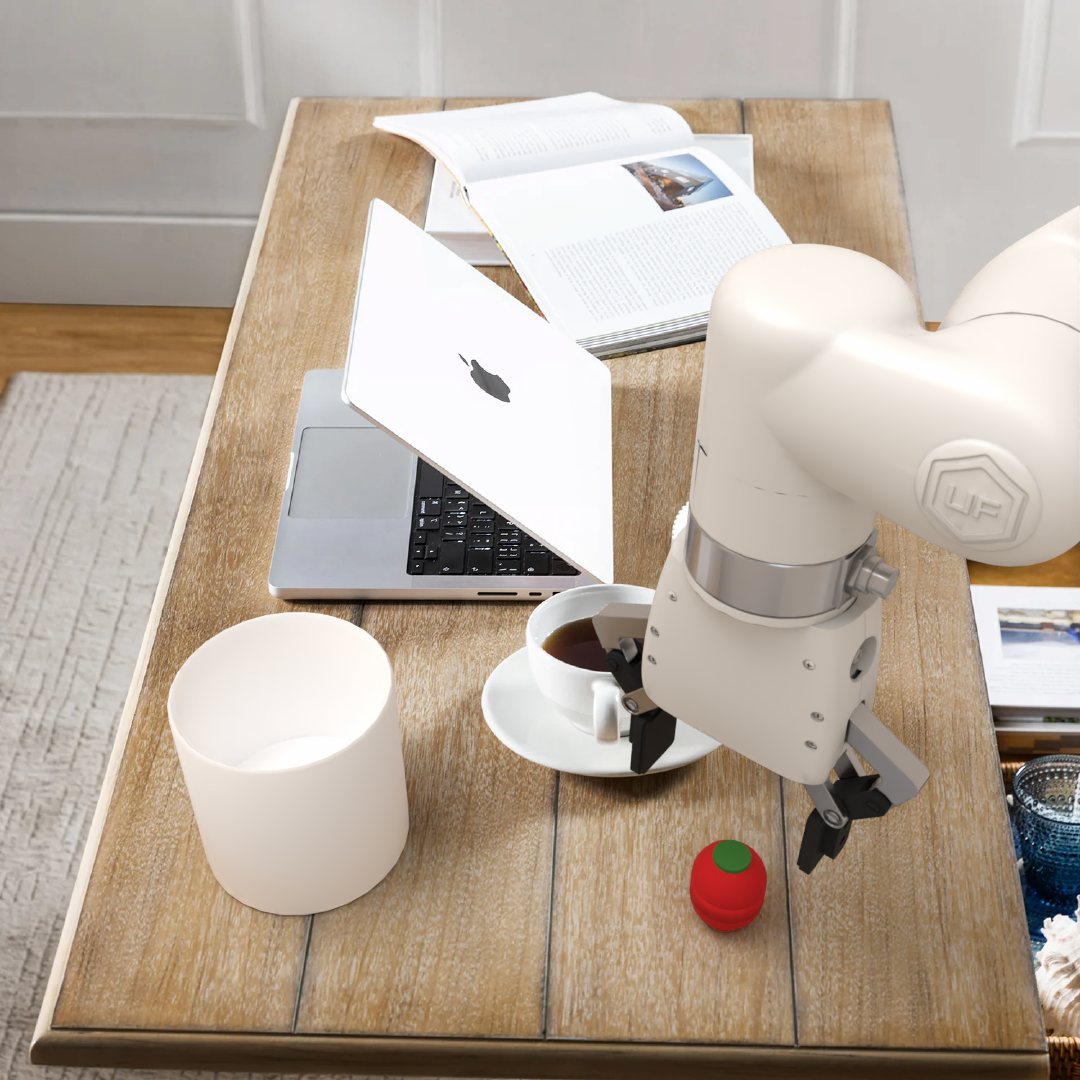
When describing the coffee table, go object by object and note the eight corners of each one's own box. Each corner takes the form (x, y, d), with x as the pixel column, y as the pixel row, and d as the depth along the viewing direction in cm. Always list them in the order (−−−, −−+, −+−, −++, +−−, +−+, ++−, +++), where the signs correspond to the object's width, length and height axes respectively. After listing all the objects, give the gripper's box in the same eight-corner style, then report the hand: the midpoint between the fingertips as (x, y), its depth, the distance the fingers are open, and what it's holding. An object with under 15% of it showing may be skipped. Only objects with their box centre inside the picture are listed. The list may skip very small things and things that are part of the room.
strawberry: (774, 907, 70) (785, 849, 67) (736, 959, 68) (745, 900, 64) (712, 870, 72) (719, 811, 69) (672, 919, 69) (679, 860, 66)
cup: (416, 753, 79) (402, 609, 71) (401, 916, 70) (383, 772, 62) (226, 754, 79) (192, 610, 71) (186, 917, 70) (142, 773, 62)
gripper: (1010, 581, 51) (924, 843, 62) (653, 427, 59) (633, 683, 70) (930, 687, 47) (852, 950, 58) (555, 504, 55) (550, 765, 66)
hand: (731, 803), depth 64 cm, fingers open, 9 cm apart
